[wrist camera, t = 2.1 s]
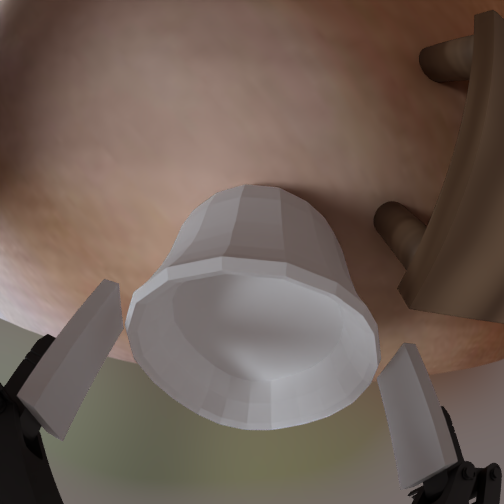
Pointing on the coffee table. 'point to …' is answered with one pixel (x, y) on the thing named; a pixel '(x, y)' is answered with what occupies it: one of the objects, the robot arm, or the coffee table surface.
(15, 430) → the robot arm
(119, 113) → the coffee table surface
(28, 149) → the coffee table surface
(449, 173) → the footstool
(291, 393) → the cup
